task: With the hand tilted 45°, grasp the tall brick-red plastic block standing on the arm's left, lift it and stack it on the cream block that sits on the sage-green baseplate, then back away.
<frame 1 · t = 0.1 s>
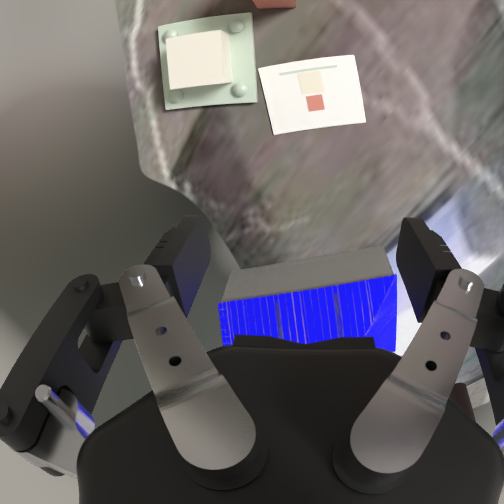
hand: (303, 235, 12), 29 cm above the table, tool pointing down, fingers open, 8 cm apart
tower base: (207, 60, 33), on the table
house: (314, 294, 52), on the table
bottle: (454, 388, 63), on the table
instruction page: (313, 93, 34), on the table
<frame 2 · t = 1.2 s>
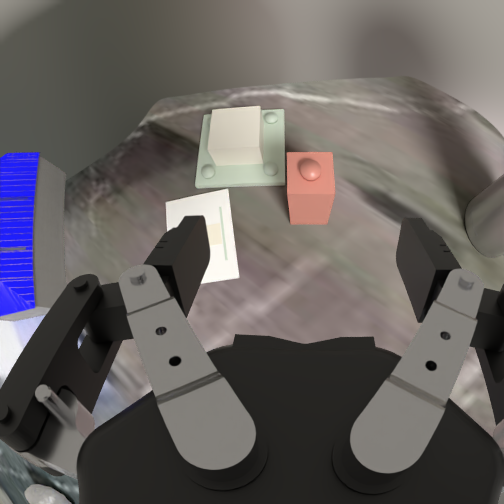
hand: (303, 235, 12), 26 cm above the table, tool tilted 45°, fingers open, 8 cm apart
tall brick: (308, 206, 39), on the table
tower base: (242, 148, 42), on the table
house: (36, 248, 45), on the table
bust: (59, 500, 35), on the table
instruction page: (199, 237, 40), on the table
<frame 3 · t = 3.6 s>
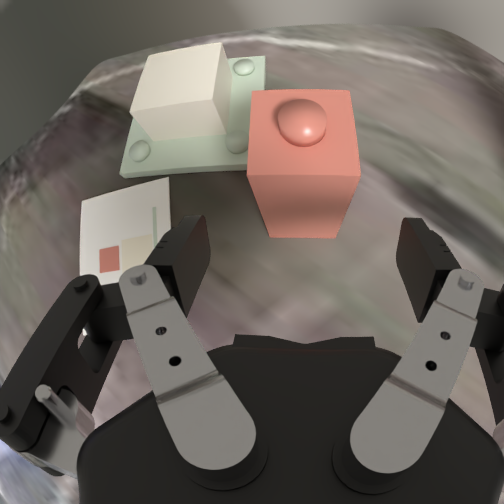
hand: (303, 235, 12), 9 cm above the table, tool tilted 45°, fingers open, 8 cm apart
tall brick: (302, 206, 22), on the table
tower base: (197, 113, 25), on the table
instruction page: (122, 257, 23), on the table
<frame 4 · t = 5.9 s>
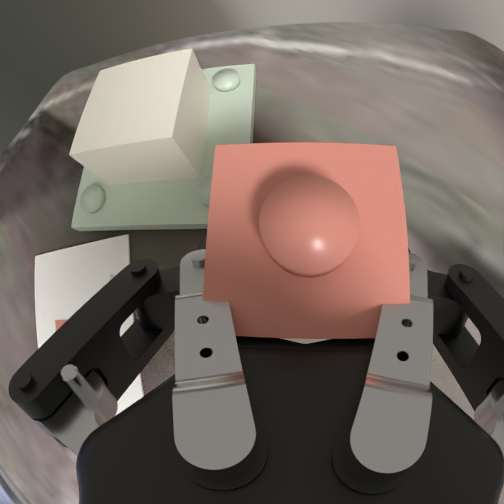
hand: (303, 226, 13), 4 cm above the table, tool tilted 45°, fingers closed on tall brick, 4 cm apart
tall brick: (302, 282, 16), on the table, touching gripper
tower base: (165, 144, 20), on the table
instruction page: (80, 333, 18), on the table
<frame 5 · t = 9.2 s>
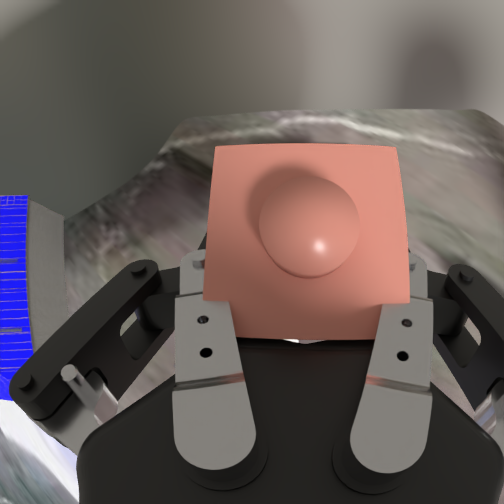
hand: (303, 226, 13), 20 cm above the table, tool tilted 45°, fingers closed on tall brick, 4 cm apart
tall brick: (302, 282, 16), point 15 cm above the table, touching gripper
house: (34, 308, 37), on the table
when the fingers open (11 cm above the table, at t = 12.6 s): tall brick drops 1 cm, resting on tower base.
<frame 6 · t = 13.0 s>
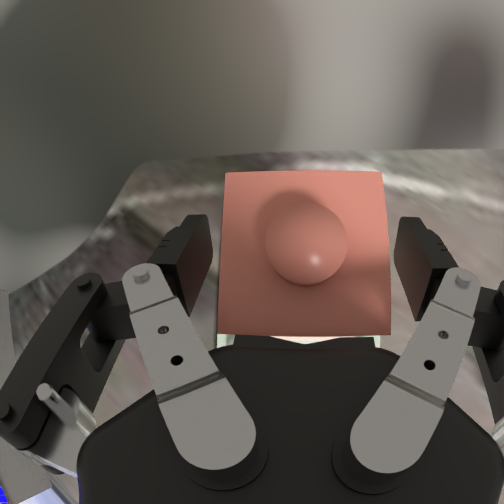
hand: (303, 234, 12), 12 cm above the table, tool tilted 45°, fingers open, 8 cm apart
tall brick: (301, 286, 18), point 5 cm above the table, touching tower base
tower base: (300, 292, 23), on the table
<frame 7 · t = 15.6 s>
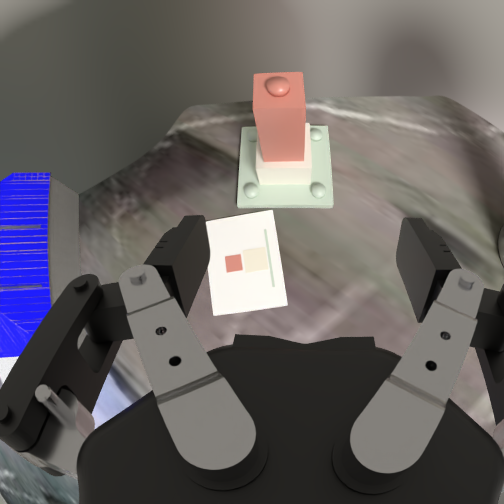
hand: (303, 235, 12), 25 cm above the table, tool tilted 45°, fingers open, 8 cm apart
tall brick: (283, 144, 35), point 5 cm above the table, touching tower base
tower base: (285, 165, 40), on the table
house: (48, 277, 42), on the table
instruction page: (243, 262, 38), on the table
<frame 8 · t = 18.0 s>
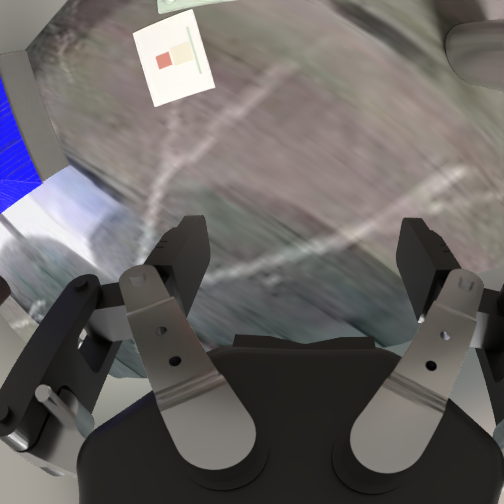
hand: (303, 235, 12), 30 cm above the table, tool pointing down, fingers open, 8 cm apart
house: (22, 124, 41), on the table
bottle: (4, 284, 67), on the table
instruction page: (172, 57, 34), on the table
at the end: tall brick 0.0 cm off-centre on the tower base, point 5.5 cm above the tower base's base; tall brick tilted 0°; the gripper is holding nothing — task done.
